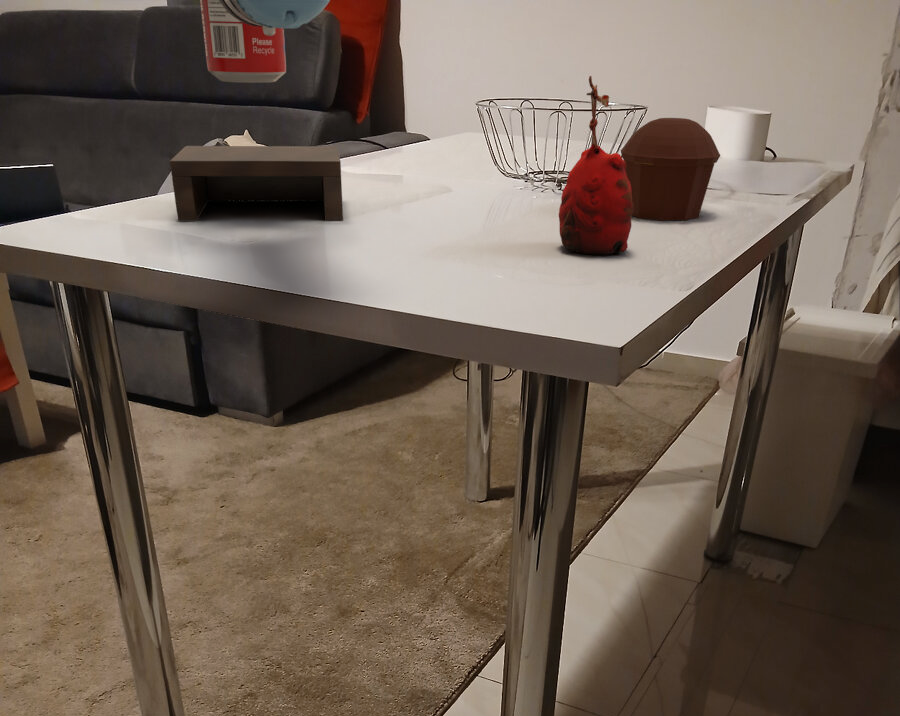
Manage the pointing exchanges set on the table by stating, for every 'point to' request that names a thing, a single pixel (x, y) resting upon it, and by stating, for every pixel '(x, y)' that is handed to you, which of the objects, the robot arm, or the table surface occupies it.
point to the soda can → (240, 47)
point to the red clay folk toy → (596, 198)
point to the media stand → (256, 176)
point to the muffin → (669, 168)
